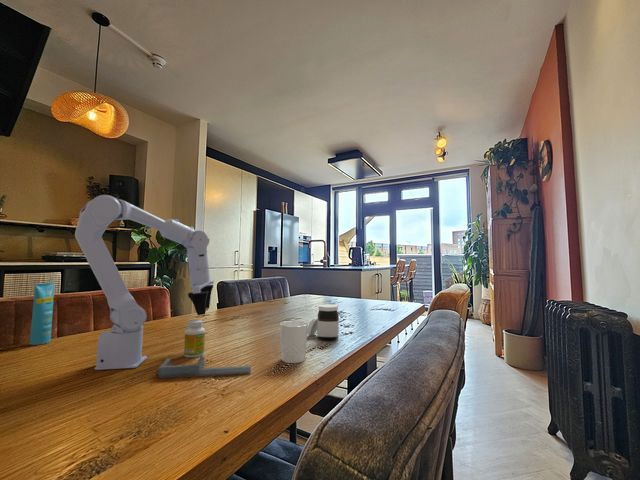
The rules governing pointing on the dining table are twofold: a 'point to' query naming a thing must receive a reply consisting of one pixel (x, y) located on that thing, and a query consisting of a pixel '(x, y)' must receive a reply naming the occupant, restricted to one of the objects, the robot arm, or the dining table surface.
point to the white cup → (293, 341)
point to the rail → (197, 370)
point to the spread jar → (325, 323)
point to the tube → (42, 314)
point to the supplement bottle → (194, 339)
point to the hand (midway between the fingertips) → (203, 311)
